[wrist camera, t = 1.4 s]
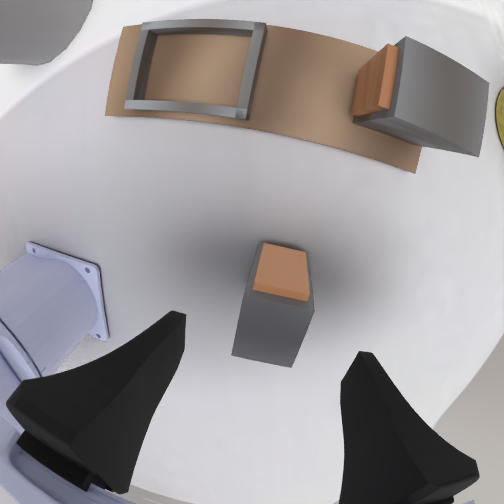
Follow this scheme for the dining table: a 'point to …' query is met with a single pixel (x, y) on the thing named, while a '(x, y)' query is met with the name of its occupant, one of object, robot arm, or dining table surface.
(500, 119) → the vase
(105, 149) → the dining table surface
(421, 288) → the dining table surface
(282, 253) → the block
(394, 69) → the wooden base with frame
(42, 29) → the cup
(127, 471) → the robot arm
